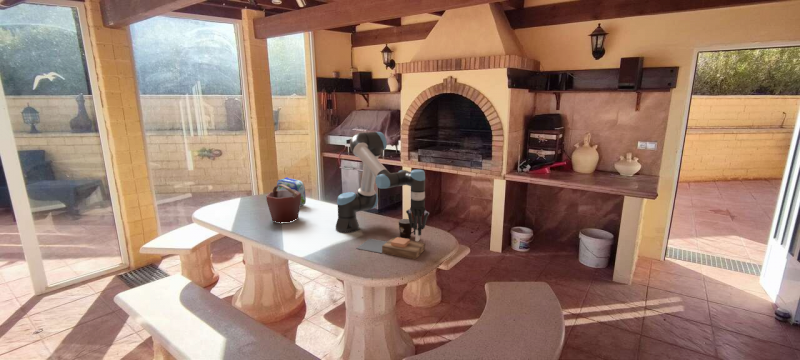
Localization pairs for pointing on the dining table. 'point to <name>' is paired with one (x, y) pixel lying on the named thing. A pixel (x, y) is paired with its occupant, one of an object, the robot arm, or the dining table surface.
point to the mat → (372, 245)
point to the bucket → (284, 204)
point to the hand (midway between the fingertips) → (417, 240)
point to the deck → (404, 249)
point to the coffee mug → (405, 228)
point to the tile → (400, 242)
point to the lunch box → (293, 187)
